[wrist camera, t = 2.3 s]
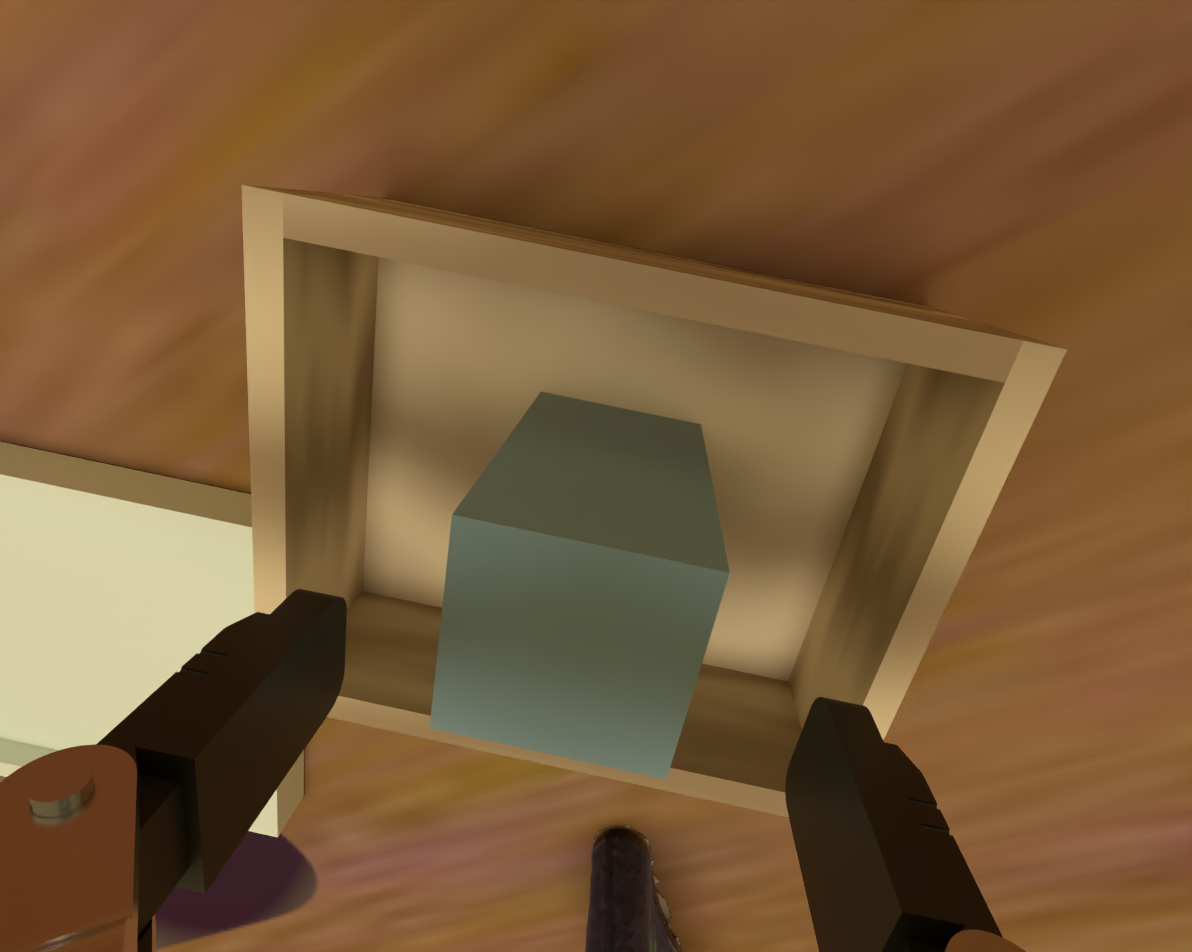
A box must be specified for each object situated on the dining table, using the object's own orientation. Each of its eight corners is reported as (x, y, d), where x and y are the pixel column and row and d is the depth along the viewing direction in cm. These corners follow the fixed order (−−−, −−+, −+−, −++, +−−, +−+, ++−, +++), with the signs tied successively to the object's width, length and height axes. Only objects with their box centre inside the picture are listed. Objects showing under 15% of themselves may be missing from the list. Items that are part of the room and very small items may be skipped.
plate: (-82, 424, 22) (-150, 442, 20) (305, 505, 22) (272, 531, 20) (-9, 726, 27) (-57, 763, 26) (303, 795, 27) (277, 837, 25)
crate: (382, 197, 18) (241, 184, 12) (928, 306, 18) (1067, 349, 12) (364, 575, 23) (257, 701, 17) (793, 666, 22) (841, 828, 16)
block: (540, 391, 17) (451, 514, 10) (700, 424, 17) (729, 573, 10) (519, 533, 19) (429, 728, 12) (664, 564, 19) (666, 779, 12)
